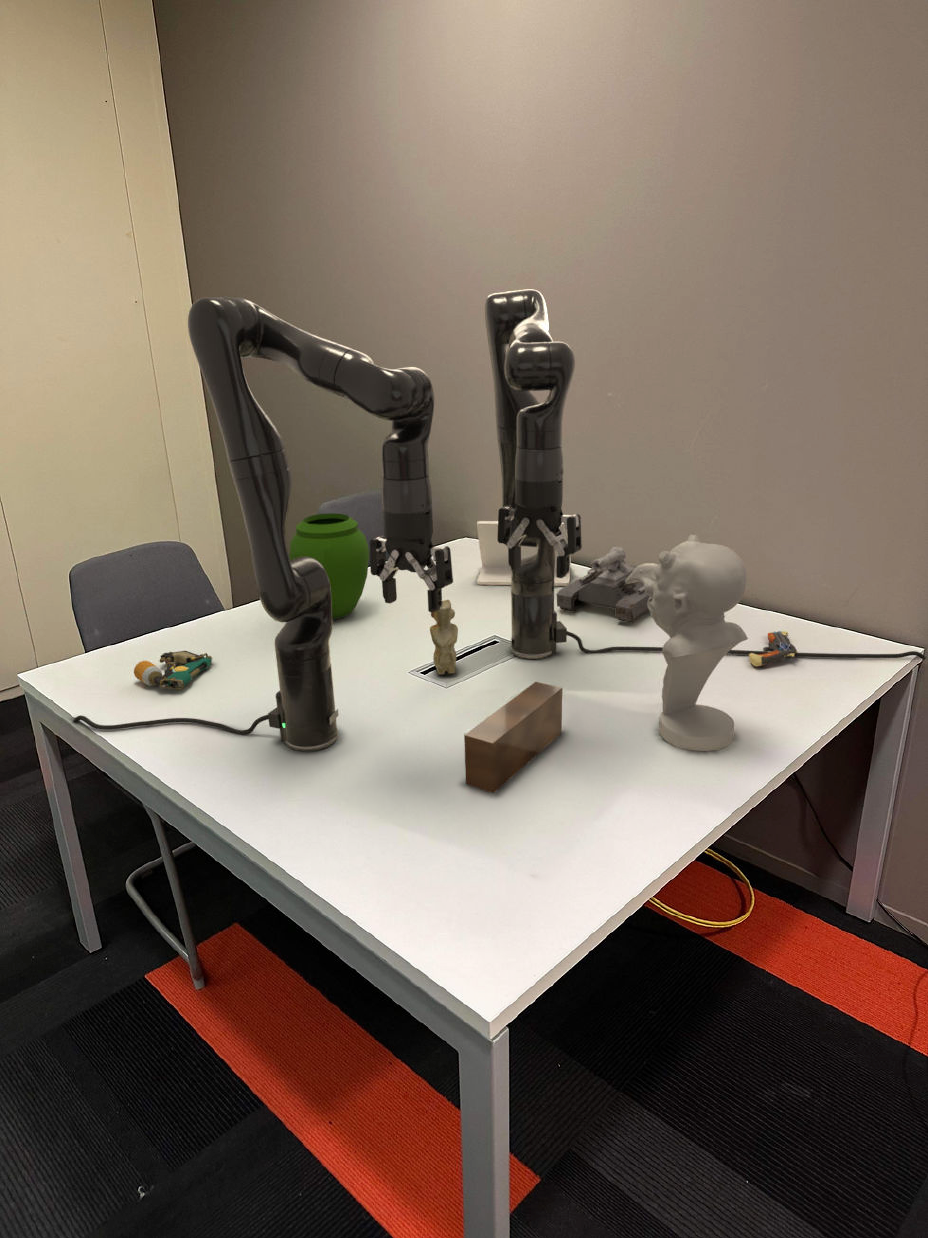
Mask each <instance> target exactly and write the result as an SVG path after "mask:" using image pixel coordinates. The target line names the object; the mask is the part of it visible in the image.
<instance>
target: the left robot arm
mask: <svg viewBox="0 0 928 1238" xmlns="http://www.w3.org/2000/svg"><path fill="white" fill-rule="evenodd" d="M187 330H188V331H187V332H188V336H189V341H190V343H191V346H192V350H193V353H194V356H195V358H196V361H197V364H198V366H199V369H200V371H201V374H202V377H203V379H204V380H203V381H204V383H205V386H206V387H207V391H208V393H209V397H210V399H211V402H212V405H213V409H214V412H215V415H216V419H217V422H218V427H219V430H220V433H221V436H222V440H223V444H224V448H225V452H226V453H225V454H226V457H227V461H228V465H229V469H230V474H231V476H232V480H233V483H234V487H235V490H236V494H237V496H238V500H239V505H240V508H241V512H242V517H243V522H244V526H245V529H246V535H247V538H248V544H249V550H250V554H251V562H252V568H253V575H254V581H255V587H256V591H257V595H258V598H259V601H260V604H261V605H262V608H263V609H264V611H265V612H266V614H267V615H268V616H269V617H270V618H271V619H273V620H274V621H276V622H278V623H284V625H283V627H281V629H280V630H279V632H278V633H277V634H276V636H275V638H274V652H275V653H274V654H275V661H276V666H277V667H276V668H277V669H276V670H277V677H278V686H279V690H278V691H277V692H276V693H275V701H276V707H275V708H273V709H272V710H270V711H269V712H268V713H267V714H265V715H262V716H260V717H258V718H256V719H255V720H254V721H253V722H252V723H251V725H250V726H249V728H247V729H237V728H233V727H231V726H229V725H226V724H223V723H220V722H215V721H210V720H205V719H200V718H193V717H171V718H161V719H152V720H145V721H144V720H143V721H134V722H128V723H121V724H110V725H109V724H106V725H105V724H98V723H96V722H94V721H92V720H91V719H89V718H88V717H87V716H85V715H81V714H80V715H78V716H76V717H75V718H74V719H73V720H72V723H79V721H82V722H83V723H85V724H86V725H87V726H89V727H91V728H92V729H95V730H100V731H101V730H102V731H103V730H104V731H113V730H114V731H115V730H121V729H128V728H137V727H146V726H147V727H148V726H155V725H162V724H163V725H164V724H172V723H187V724H190V723H191V724H198V725H203V726H207V727H212V728H218V729H221V730H224V731H226V732H228V733H231V734H235V735H241V736H244V735H249V734H251V733H253V732H254V730H255V729H256V727H258V725H259V724H261V723H262V722H264V721H267V720H268V726H269V727H270V728H273V729H278V730H279V736H280V741H281V742H282V743H285V745H286V746H287V747H288V748H290V749H292V750H295V751H298V752H299V751H300V752H312V751H318V750H319V751H320V750H322V749H323V750H324V749H325V748H328V747H329V746H332V745H333V744H334V743H336V741H337V740H338V738H339V730H338V725H337V724H338V723H337V718H338V717H339V708H337V709H336V703H335V701H336V700H335V691H334V680H333V670H332V669H333V668H332V661H331V650H330V640H331V636H332V632H333V619H332V598H331V587H330V582H329V578H328V575H327V573H326V571H325V569H324V567H323V566H322V565H321V564H320V563H319V562H318V561H317V560H315V559H314V558H311V557H299V558H296V559H293V560H290V558H289V549H288V545H287V538H286V537H287V535H286V530H287V529H286V528H287V527H286V525H287V519H288V513H289V510H290V504H291V498H292V494H293V493H292V492H293V475H292V469H291V466H290V461H289V458H288V453H287V450H286V445H285V441H284V440H283V437H282V435H281V433H280V431H279V430H278V428H277V426H276V425H275V423H274V422H273V420H272V419H271V418H270V417H269V415H268V413H266V411H265V410H264V408H263V407H262V406H261V404H260V403H259V402H258V400H257V399H256V397H255V395H253V392H252V390H251V388H250V385H249V383H248V380H247V377H246V373H245V370H244V366H243V362H242V360H243V359H247V358H255V359H262V360H266V361H271V362H276V363H279V364H280V365H283V366H285V367H288V368H289V369H290V370H292V371H293V372H294V373H295V374H296V375H298V376H299V377H300V378H301V379H302V380H304V381H305V382H307V383H309V384H310V385H312V386H314V387H317V388H319V389H321V390H323V391H326V392H328V393H331V394H334V395H336V396H339V397H341V398H343V399H347V400H349V401H350V402H351V403H353V404H354V405H356V406H357V407H359V408H360V409H362V410H363V411H365V412H367V413H368V414H369V415H372V416H374V417H377V418H378V419H382V420H385V421H391V428H390V432H389V434H388V435H387V436H386V437H385V438H383V440H382V442H381V444H380V463H381V507H382V521H383V522H382V523H383V535H380V536H377V537H374V538H372V539H370V540H369V562H370V563H369V564H370V565H369V567H370V569H369V570H370V574H371V575H372V576H377V577H379V580H380V581H381V587H382V588H381V589H382V597H383V599H384V602H385V604H392V603H395V602H396V601H397V600H398V599H397V598H398V595H397V594H398V593H397V579H396V578H395V576H396V574H397V573H398V571H408V572H410V573H414V574H415V573H416V574H417V576H418V577H419V578H420V579H421V580H423V581H424V583H425V585H426V586H427V588H428V589H427V611H428V612H429V613H431V612H432V613H434V612H436V611H438V610H439V609H440V607H441V606H442V601H443V589H444V588H446V587H447V586H451V584H453V582H454V577H453V575H454V574H453V565H452V554H451V553H452V552H451V548H450V546H448V545H446V546H442V547H437V546H434V544H433V542H432V537H433V534H434V521H433V520H434V518H433V517H434V516H433V495H432V493H433V492H432V486H431V479H430V466H429V465H430V463H429V450H428V445H429V441H430V436H431V430H432V425H433V424H432V423H433V418H434V411H435V392H434V391H435V390H434V387H433V384H432V381H431V379H430V377H429V375H427V373H426V372H425V371H424V370H422V369H421V368H419V367H415V366H405V367H398V368H393V369H391V368H385V367H383V366H382V367H381V366H379V365H376V364H375V363H374V360H373V359H372V358H371V357H370V356H369V355H367V354H366V353H364V352H361V351H358V350H356V349H354V348H351V347H348V346H346V345H343V344H340V343H337V342H335V341H333V340H330V339H326V338H323V337H321V336H318V335H316V334H313V333H310V332H308V331H306V330H303V329H301V328H298V327H297V326H295V325H293V324H291V323H289V322H286V321H285V320H283V319H281V318H280V317H278V316H276V315H274V314H273V313H271V312H270V311H268V310H266V309H265V308H263V307H261V306H260V305H258V304H257V303H255V302H252V301H251V300H250V299H246V298H244V297H241V296H240V297H239V296H207V297H205V296H204V297H201V298H198V299H196V300H195V301H194V302H193V303H192V305H191V307H190V309H189V312H188V315H187ZM386 552H387V553H388V555H389V558H388V559H387V554H386ZM432 557H433V558H432ZM426 567H427V569H425V568H426ZM281 742H280V743H281Z"/></svg>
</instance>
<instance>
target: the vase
mask: <svg viewBox="0 0 928 1238" xmlns="http://www.w3.org/2000/svg"><path fill="white" fill-rule="evenodd" d="M358 524H359V523H358V521H356V520H355V519H353V518H352V517H350V516H349V515H347V514H344V513H335V512H334V513H333V512H331V513H320V514H313V515H310V516H307V517H305V518H303V519H302V520H301V521H300V522H299V523H298V524H297V525H296V526H295V532H296V533H295V534H294V536H293V537H292V538H291V540H290V542H289V550H288V554H289V558H290V560H293V559H296V558H299V557H311V558H314V559H315V560H317V561H318V562H319V563H320V564H321V565H322V566H323V567H324V569H325V571H326V573H327V575H328V578H329V582H330V587H331V598H332V620H336V619H341V618H345V617H347V616H349V615H350V614H351V613H352V612H353V611H354V610H355V608H356V607H357V605H358V604H359V601H360V599H361V597H362V595H363V592H364V588H365V586H366V581H367V578H368V570H369V562H370V547H369V545H368V541H367V537H366V535H365V534H364V533H363V532H362V531H361V530H360V529H359V527H358Z"/></svg>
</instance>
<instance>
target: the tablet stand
mask: <svg viewBox="0 0 928 1238" xmlns="http://www.w3.org/2000/svg"><path fill="white" fill-rule="evenodd" d="M560 528H561V529H562V531H563V533H564V534H565V536H566V540H567V542H568V538H567V529H566V528H565V525H564V523H563V522H562V524H561V525H560ZM476 531H477V537H478V544H479V551H480V557H481V558H480V559H481V570H480V573H479V575H478V577H477V580H476V581H477V582H476V584H478V585H484V586H485V585H486V586H487V585H489V586H490V585H491V586H511V566H509V563H508V560H509V559H508V547H507V545H505V544H503V543H499V542H498V540H497V537H498V520H477V522H476ZM537 551H538V548H537V547H525V546H521V559H525V558H528V557H531V556H534V555H535V554H537ZM557 556H558V553H557V551H556V550H555V569H554V587H556V586H557V587H566V586H567V585H569V584H570V580H571V579H570V578H571V565H572V564H571V560H572V558H571V557H570V564H569V572H568V573H567V574H566V576H565V577H563V578H557Z"/></svg>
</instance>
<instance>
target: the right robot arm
mask: <svg viewBox="0 0 928 1238" xmlns="http://www.w3.org/2000/svg"><path fill="white" fill-rule="evenodd" d="M484 320H485V329H486V336H487V343H488V350H489V356H490V365H491V370H492V379H493V389H494V404H495V405H494V407H495V408H494V410H495V424H496V435H497V446H498V454H499V462H500V472H501V497H502V498H501V499H502V500H501V501H502V502H501V505H502V506H501V507H500V508H499V509H498V514H497V515H498V517H497V521H498V537H497V540H498V542H499V543H503V544H505V545H507V547H508V559H509V560H508V563H509V566H511V585H510V588H511V589H510V597H511V599H510V603H511V604H510V606H511V607H510V609H511V610H510V615H511V617H510V618H511V621H510V622H511V640H510V645H511V646H510V651H511V653H512V655H513V656H515V657H518V658H521V659H525V660H526V659H527V660H540V659H545V658H548V657H550V656H552V655H557V654H558V653H557V650H558V649H557V648H558V647H557V645H558V644H561V643H567V640H568V639H567V638H568V637H570V638H572V639H574V640H575V641H576V642H577V645H578V648H579V650H580V651H581V652H582V653H584V654H603V653H608V652H609V653H610V652H615V651H616V652H617V651H618V652H620V651H623V652H624V651H627V652H629V651H634V652H662V649H663V646H609V647H605V648H600V649H595V650H592V649H589V648H588V649H587V648H585V647H584V644H583V641H582V639H581V638H580V637H579V636H578V634H576V633H573V632H571V631H569V630H568V628H567V627H566V625H564V624H563V622H562V621H561V620H558V613H557V612H556V611H555V586H554V569H555V550H556V551H557V553H558V556H557V578H563V577H565V576H566V574H567V573H568V572H569V564H570V558H571V555H574V554H576V553H577V552H579V551H581V550H582V548H583V545H582V521H581V520H582V518H581V515H580V513H574V514H564V513H563V510H562V506H563V501H564V500H563V496H564V495H563V494H564V493H563V491H564V489H563V488H564V487H563V486H564V481H563V480H564V456H563V448H562V447H563V436H562V435H563V417H564V409H565V405H566V400H567V396H568V393H569V389H570V386H571V383H572V380H573V377H574V373H575V367H576V359H575V354H574V352H573V350H572V348H571V347H570V345H569V344H568V343H566V342H563V341H554V340H553V338H552V336H551V334H550V323H549V316H548V308H547V304H546V300H545V297H544V296H543V294H542V293H541V292H540V291H538V290H536V289H528V288H527V289H519V290H511V291H503V292H495V293H492V294H489V295H488V296H487V297H486V299H485V304H484ZM507 347H508V349H507ZM537 391H538V392H540V391H541V392H542V391H549V393H548V395H547V397H546V399H545V400H543V401H542V402H539V401H538V399H537V398H536V396H535V395H534V394H533V392H537ZM562 522H563V523H564V525H565V528H566V529H567V538H568V542H567V540H566V536H565V534H564V533H563V531H562V529H561V528H560V525H561V524H562ZM521 546H525V547H537V548H538V551H537V554H535V555H534V556H531V557H528V558H525V559H521ZM767 652H769V651H767ZM750 653H754V654H756V655H758V654H763V650H742V649H731V650H730V651H729V652H728V653H727V654H728V655H742V656H743V655H746V656H749V654H750ZM727 654H726V655H727ZM910 656H915V657H916V656H917V657H918V658H920V659H922V660H926V659H927V657H926V656H925V655H924V654H923V653H921V652H920V651H916V650H912V651H911V650H910V651H905V652H900V653H827V652H826V653H825V652H822V653H821V652H798V653H795V655H794V657H792V656H790V657H792V658H823V659H824V658H827V659H830V658H831V659H833V658H834V659H902V658H906V657H910Z"/></svg>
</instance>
